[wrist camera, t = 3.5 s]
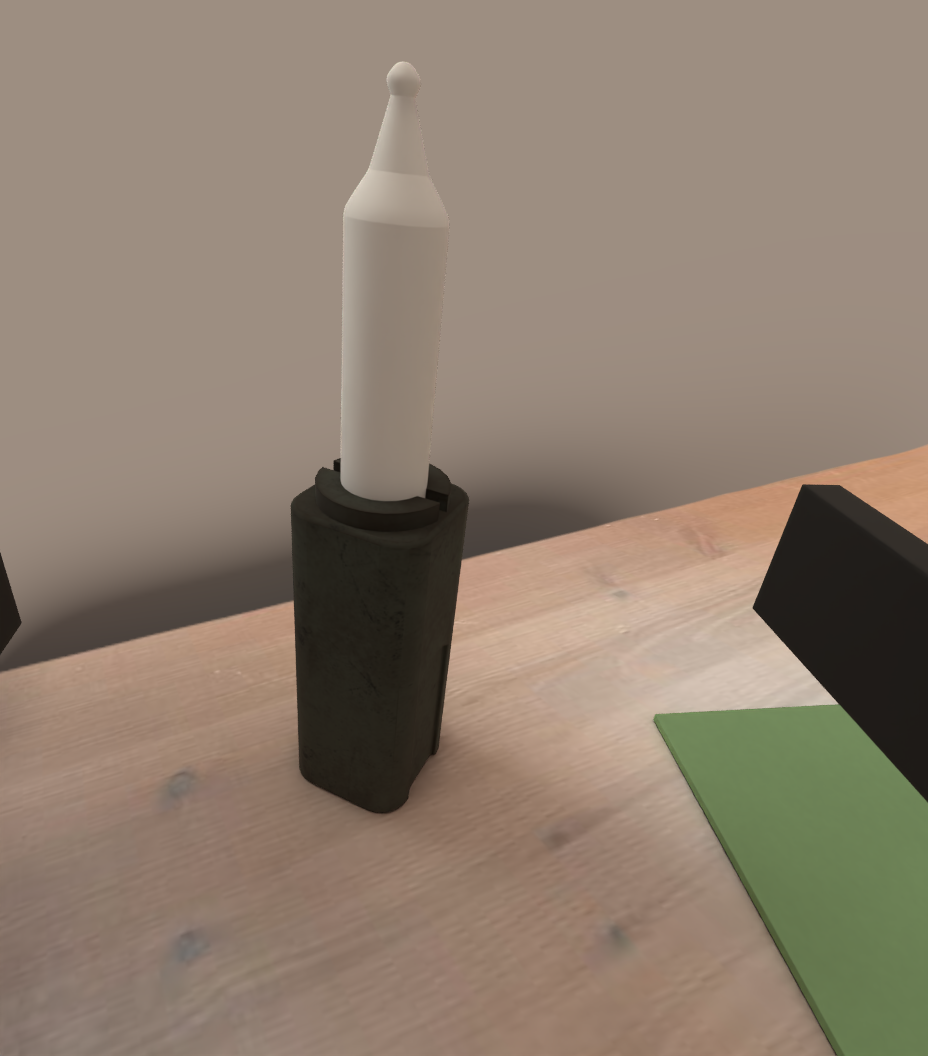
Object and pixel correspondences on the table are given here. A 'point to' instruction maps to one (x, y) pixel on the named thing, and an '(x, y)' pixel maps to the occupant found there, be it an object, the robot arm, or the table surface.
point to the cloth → (823, 860)
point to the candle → (381, 495)
